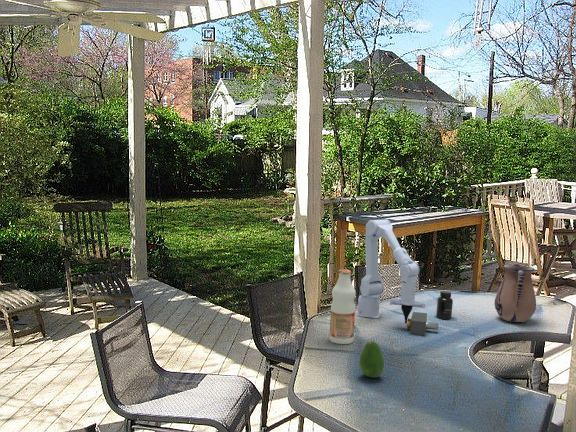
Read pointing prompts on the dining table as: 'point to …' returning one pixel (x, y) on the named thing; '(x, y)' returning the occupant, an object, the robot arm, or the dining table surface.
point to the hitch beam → (418, 323)
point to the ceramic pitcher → (516, 294)
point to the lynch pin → (428, 325)
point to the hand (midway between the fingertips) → (406, 322)
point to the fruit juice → (342, 310)
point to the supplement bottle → (444, 306)
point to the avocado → (371, 360)
